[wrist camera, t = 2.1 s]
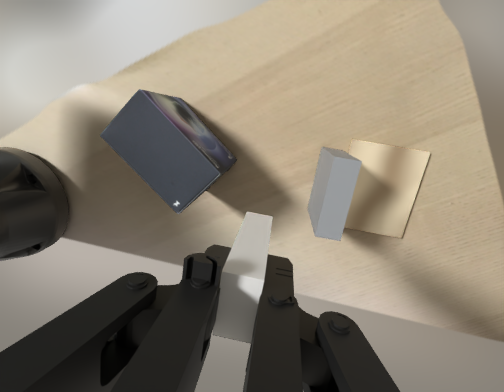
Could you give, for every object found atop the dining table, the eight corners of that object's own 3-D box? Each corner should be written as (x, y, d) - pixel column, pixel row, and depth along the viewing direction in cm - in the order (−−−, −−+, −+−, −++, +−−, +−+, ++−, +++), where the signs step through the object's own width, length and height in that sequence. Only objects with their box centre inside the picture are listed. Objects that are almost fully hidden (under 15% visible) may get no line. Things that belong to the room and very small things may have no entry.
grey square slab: (307, 208, 37) (315, 236, 28) (321, 146, 34) (334, 156, 26) (327, 211, 37) (341, 241, 28) (343, 150, 34) (363, 161, 26)
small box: (241, 158, 36) (224, 174, 26) (205, 191, 38) (177, 218, 28) (181, 94, 35) (139, 85, 25) (147, 131, 36) (95, 137, 26)
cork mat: (329, 223, 37) (330, 224, 36) (351, 138, 34) (352, 139, 33) (400, 237, 36) (401, 238, 36) (428, 151, 33) (430, 152, 33)
